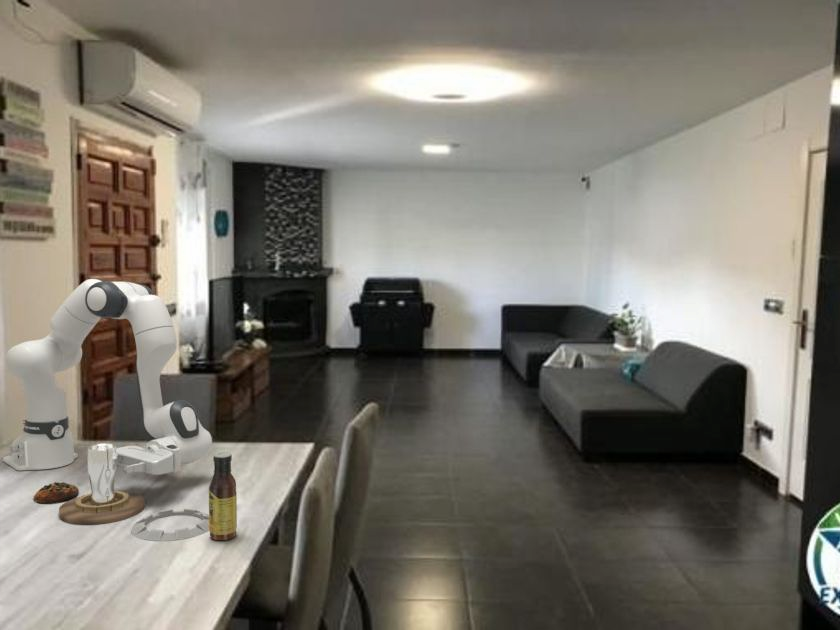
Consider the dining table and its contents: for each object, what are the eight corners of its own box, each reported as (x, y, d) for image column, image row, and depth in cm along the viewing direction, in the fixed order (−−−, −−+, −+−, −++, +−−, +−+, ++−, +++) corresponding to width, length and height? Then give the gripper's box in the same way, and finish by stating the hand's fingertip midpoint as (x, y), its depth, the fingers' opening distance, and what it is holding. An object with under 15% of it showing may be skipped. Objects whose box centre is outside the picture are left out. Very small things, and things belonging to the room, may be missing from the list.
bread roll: (60, 505, 185) (58, 486, 185) (24, 507, 187) (21, 488, 187) (88, 493, 196) (86, 475, 196) (54, 495, 198) (52, 477, 198)
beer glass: (106, 510, 179) (105, 451, 177) (82, 507, 180) (80, 449, 179) (123, 500, 185) (122, 444, 184) (99, 498, 187) (98, 442, 186)
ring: (219, 511, 185) (219, 504, 184) (210, 541, 166) (210, 532, 165) (140, 514, 181) (140, 507, 181) (122, 545, 162) (122, 536, 162)
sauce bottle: (212, 531, 170) (211, 449, 168) (238, 531, 170) (238, 449, 169) (206, 542, 163) (205, 457, 162) (234, 542, 164) (233, 457, 162)
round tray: (42, 513, 180) (42, 501, 179) (114, 492, 196) (114, 481, 196) (89, 531, 169) (88, 518, 168) (160, 507, 185) (160, 496, 185)
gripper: (136, 437, 202) (90, 448, 190) (183, 449, 190) (138, 461, 179) (136, 459, 202) (91, 471, 190) (183, 472, 191) (138, 485, 179)
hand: (114, 466), depth 185 cm, fingers open, 8 cm apart
